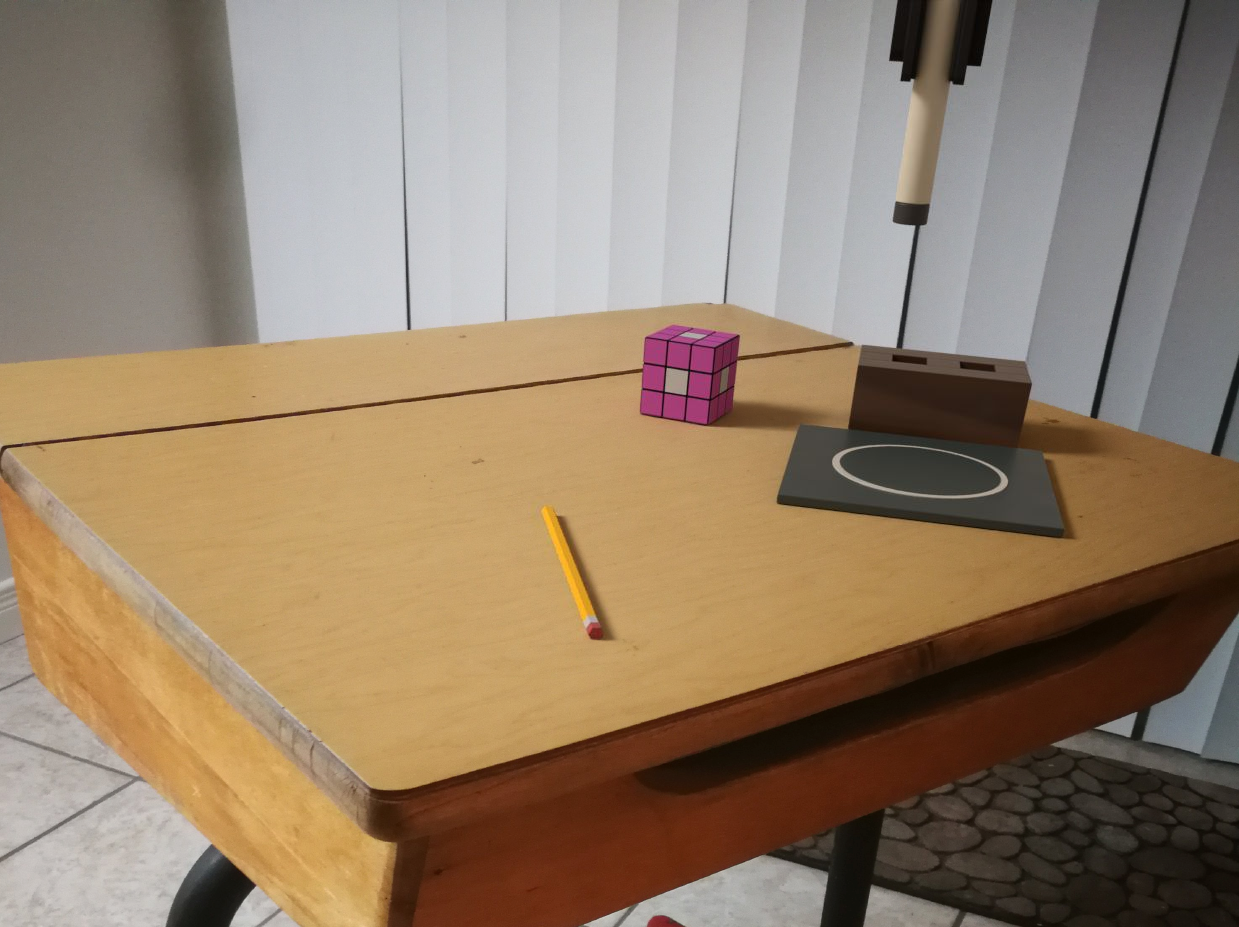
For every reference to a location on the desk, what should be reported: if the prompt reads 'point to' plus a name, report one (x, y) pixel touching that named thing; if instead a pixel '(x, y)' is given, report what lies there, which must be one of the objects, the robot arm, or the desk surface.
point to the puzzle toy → (689, 374)
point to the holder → (940, 396)
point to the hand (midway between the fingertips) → (932, 78)
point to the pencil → (572, 575)
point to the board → (921, 480)
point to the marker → (927, 112)
